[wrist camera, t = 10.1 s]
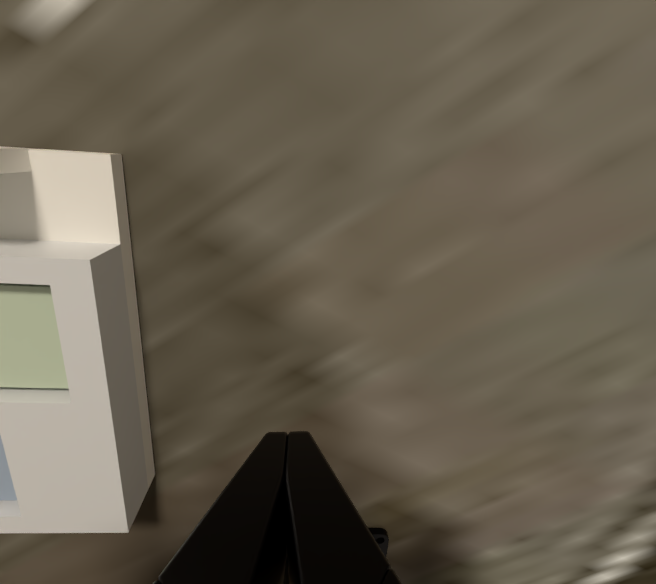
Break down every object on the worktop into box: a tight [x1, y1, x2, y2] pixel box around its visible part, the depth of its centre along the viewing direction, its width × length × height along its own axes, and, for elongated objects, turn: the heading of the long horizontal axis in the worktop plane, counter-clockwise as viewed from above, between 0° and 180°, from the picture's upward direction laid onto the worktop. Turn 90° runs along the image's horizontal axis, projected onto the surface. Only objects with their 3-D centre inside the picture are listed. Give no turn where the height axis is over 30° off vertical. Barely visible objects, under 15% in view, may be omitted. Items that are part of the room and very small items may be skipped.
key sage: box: [0, 283, 69, 389], centre depth 16 cm, size 4×4×2 cm
